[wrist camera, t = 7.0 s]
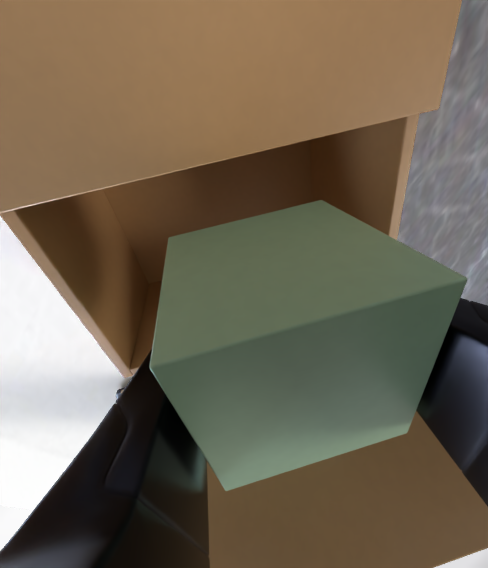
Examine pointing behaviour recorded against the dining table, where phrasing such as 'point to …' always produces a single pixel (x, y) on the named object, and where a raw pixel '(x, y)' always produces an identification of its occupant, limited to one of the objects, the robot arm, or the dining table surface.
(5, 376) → the dining table surface
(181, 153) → the carton
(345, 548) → the flap
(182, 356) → the block
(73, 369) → the dining table surface
